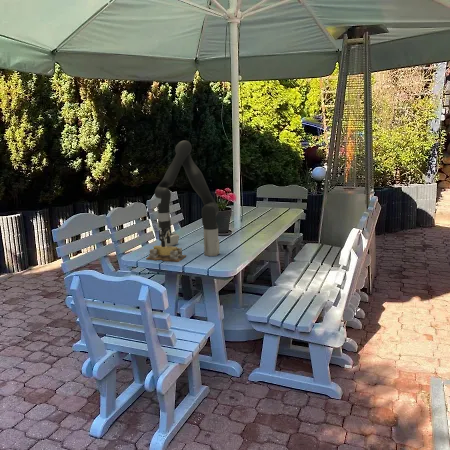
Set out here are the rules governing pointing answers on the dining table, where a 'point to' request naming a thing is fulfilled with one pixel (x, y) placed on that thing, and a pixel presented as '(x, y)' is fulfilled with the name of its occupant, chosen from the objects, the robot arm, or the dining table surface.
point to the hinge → (172, 240)
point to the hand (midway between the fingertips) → (166, 245)
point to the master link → (165, 249)
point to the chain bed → (166, 256)
